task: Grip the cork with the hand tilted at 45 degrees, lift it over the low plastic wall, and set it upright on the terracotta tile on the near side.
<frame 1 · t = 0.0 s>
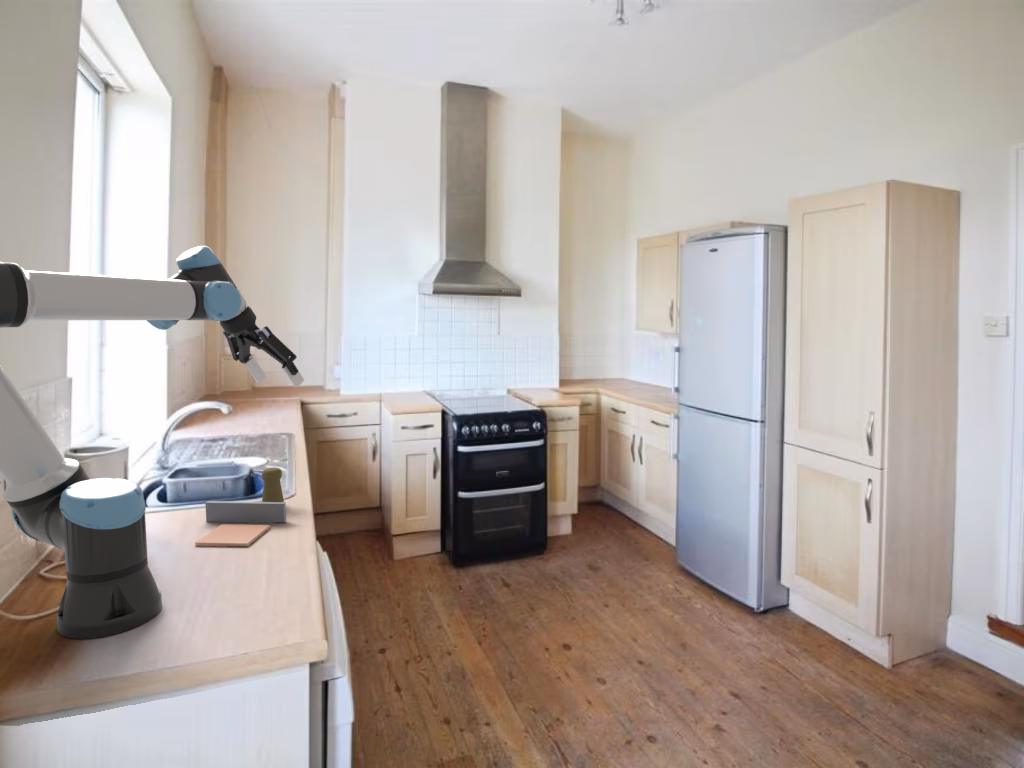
hand: (280, 382, 148), 36 cm above the worktop, tool tilted 35°, fingers open, 13 cm apart
terracotta tile: (234, 536, 141), on the worktop
low wall: (246, 521, 152), on the worktop
cork: (273, 508, 163), on the worktop
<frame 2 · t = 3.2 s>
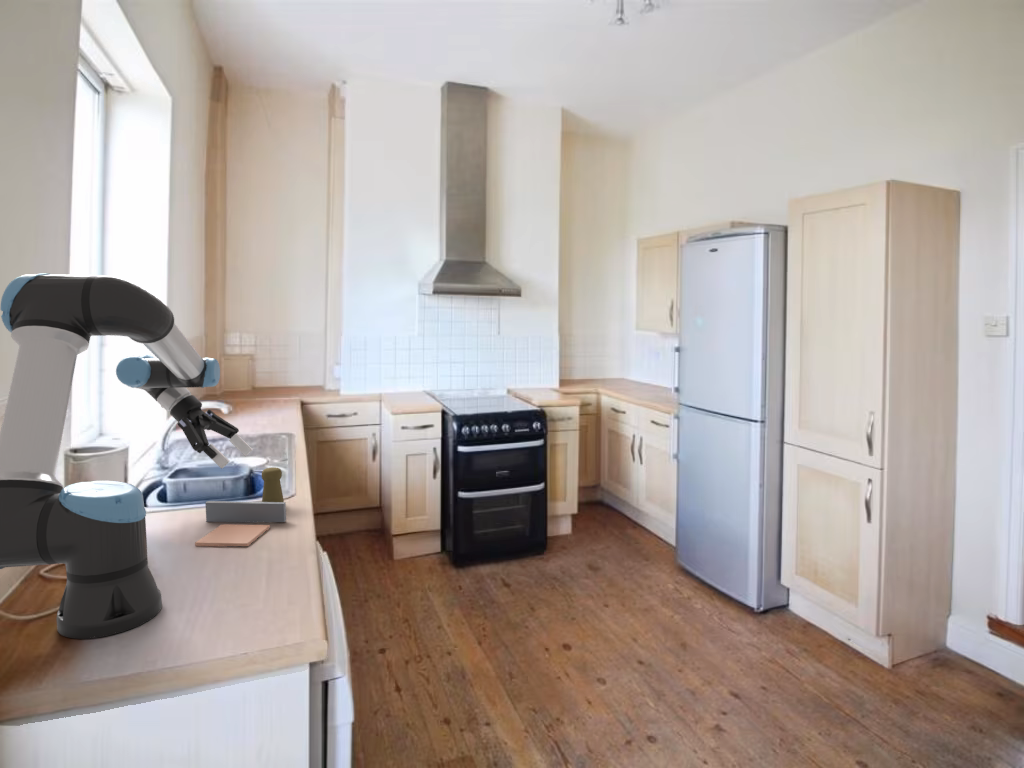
hand: (238, 458, 162), 13 cm above the worktop, tool tilted 45°, fingers open, 13 cm apart
nothing on the worktop moved.
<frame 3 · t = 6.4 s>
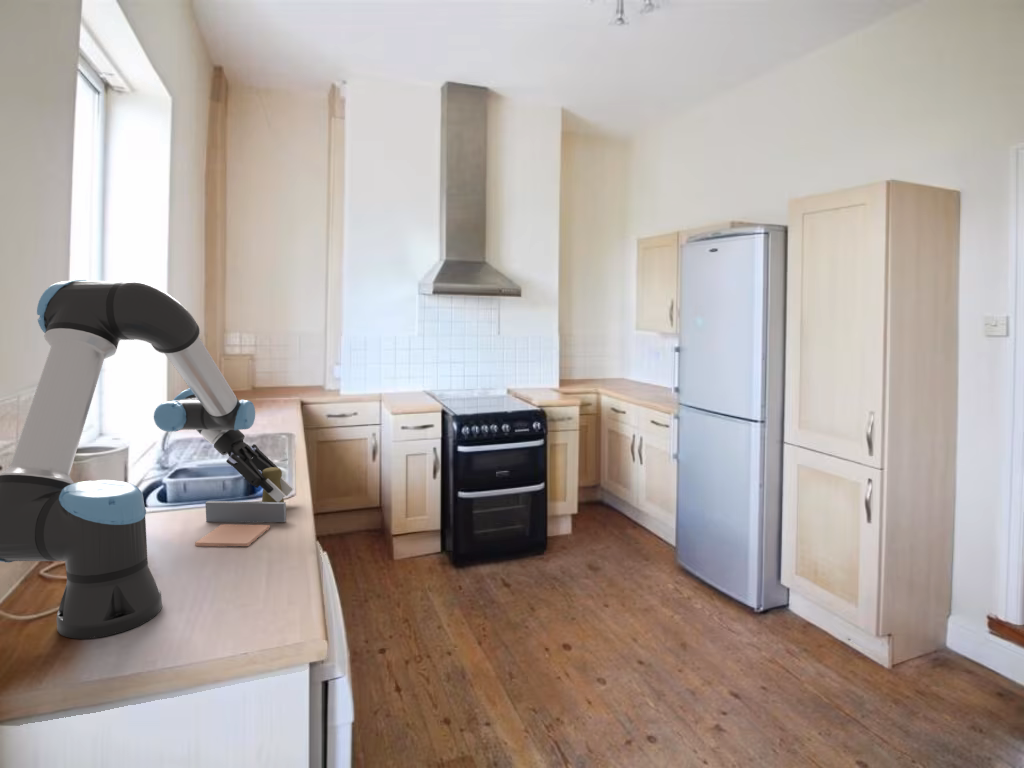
hand: (285, 495, 163), 3 cm above the worktop, tool tilted 45°, fingers closed on cork, 5 cm apart
cork: (273, 507, 163), on the worktop, touching gripper
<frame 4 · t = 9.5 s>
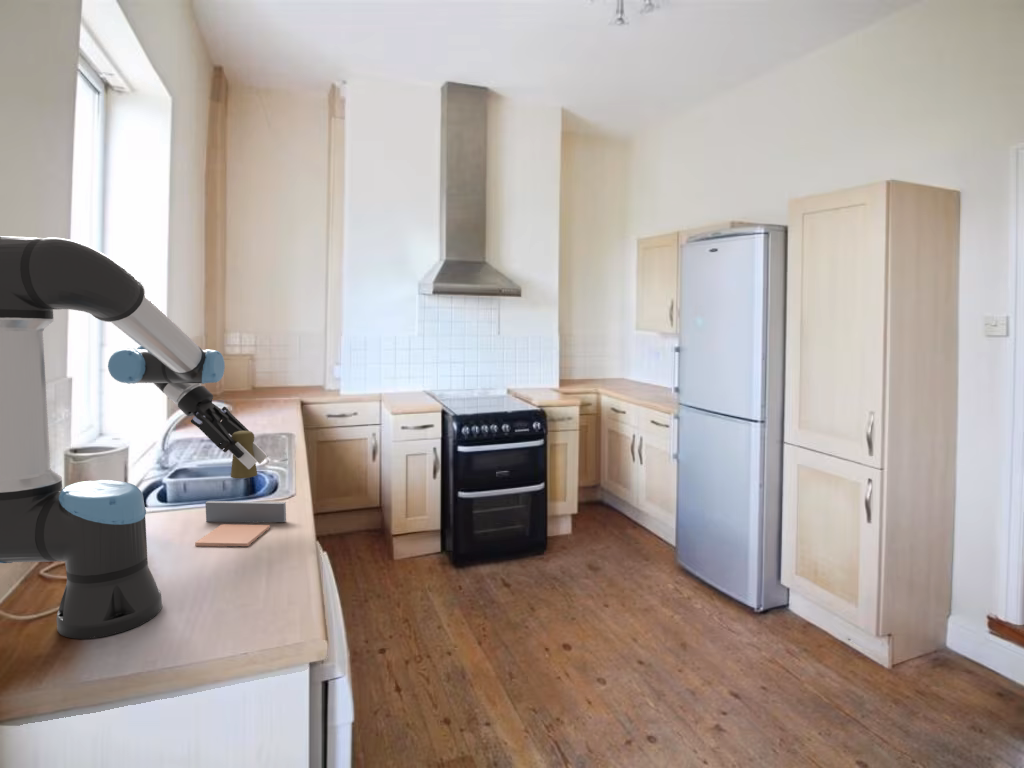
hand: (258, 462, 146), 16 cm above the worktop, tool tilted 45°, fingers closed on cork, 5 cm apart
cork: (244, 476, 146), point 13 cm above the worktop, touching gripper
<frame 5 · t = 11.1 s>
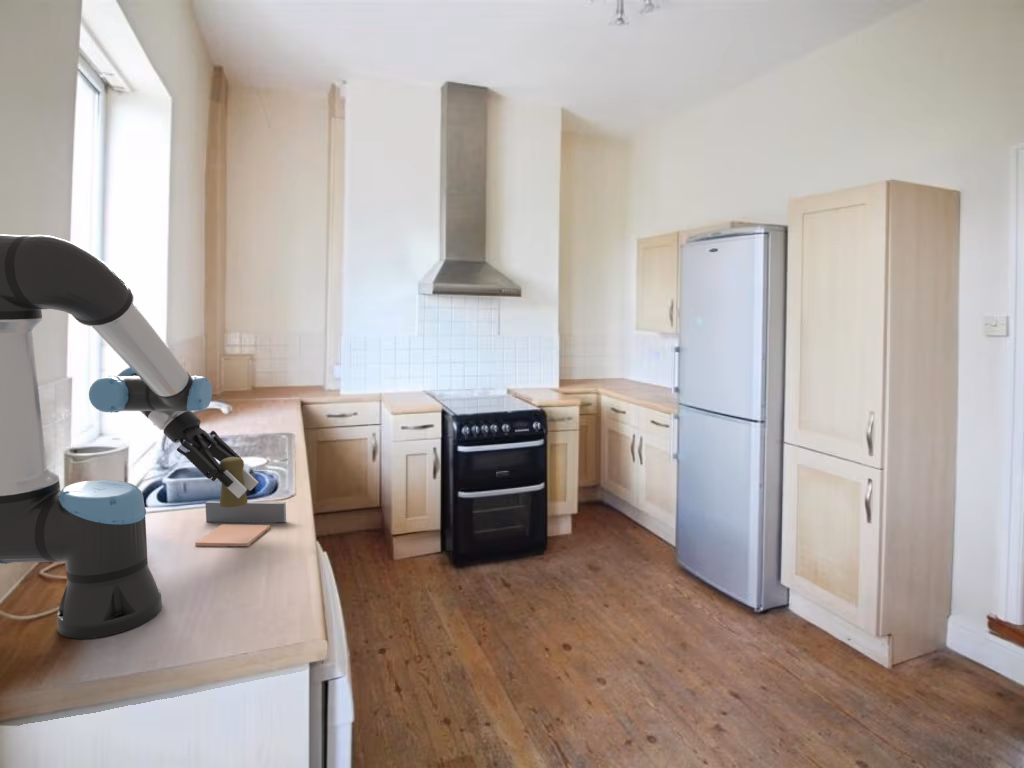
hand: (248, 490, 141), 11 cm above the worktop, tool tilted 45°, fingers closed on cork, 5 cm apart
cork: (233, 504, 141), point 8 cm above the worktop, touching gripper
when the fingers open (5 cm above the worktop, at t = 12.4 s): cork drops 1 cm, resting on terracotta tile.
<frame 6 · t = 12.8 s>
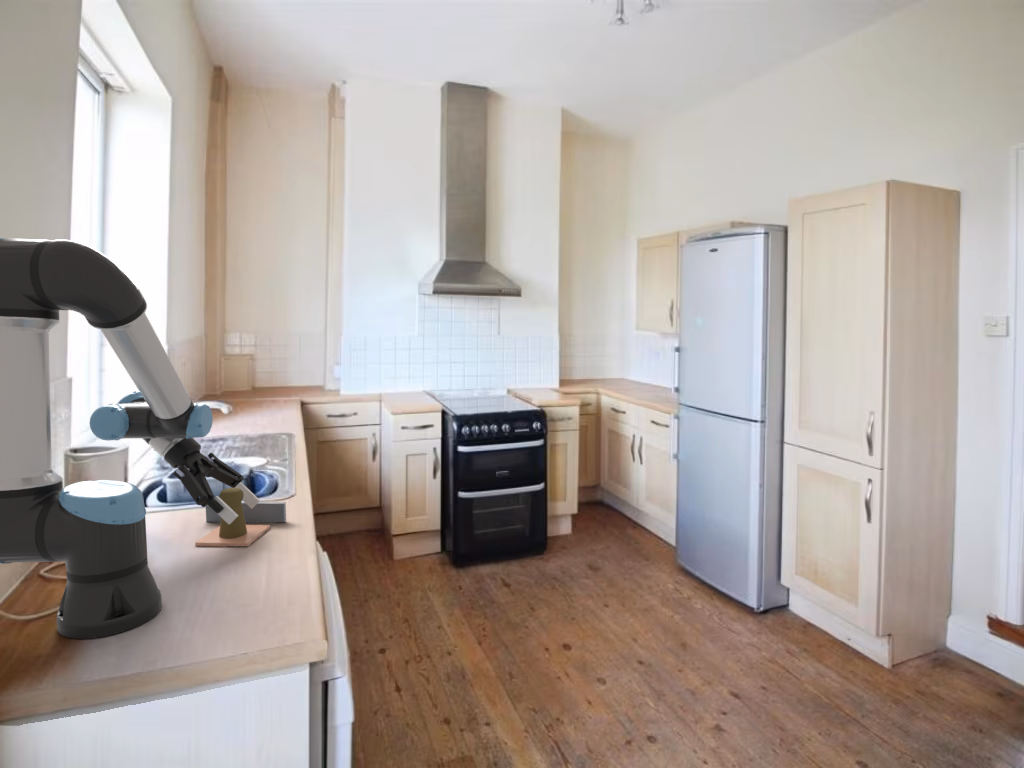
hand: (245, 512, 141), 6 cm above the worktop, tool tilted 45°, fingers open, 10 cm apart
cork: (233, 534, 141), point 1 cm above the worktop, touching terracotta tile
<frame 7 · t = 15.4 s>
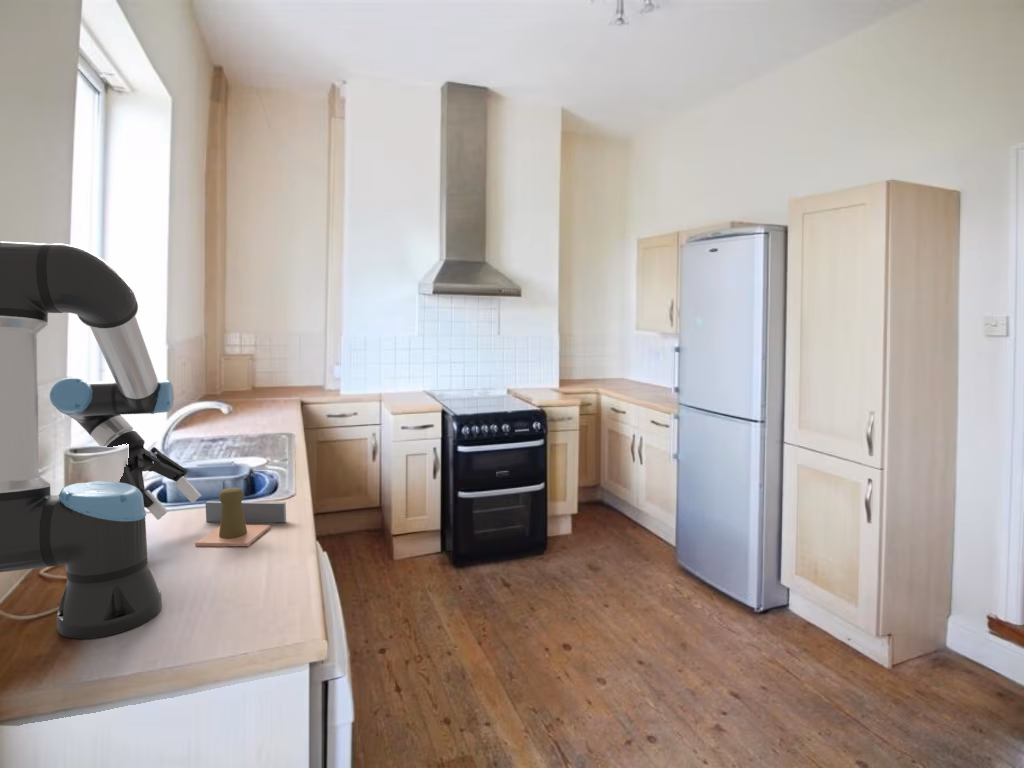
hand: (180, 507, 140), 7 cm above the worktop, tool tilted 40°, fingers open, 13 cm apart
nothing on the worktop moved.
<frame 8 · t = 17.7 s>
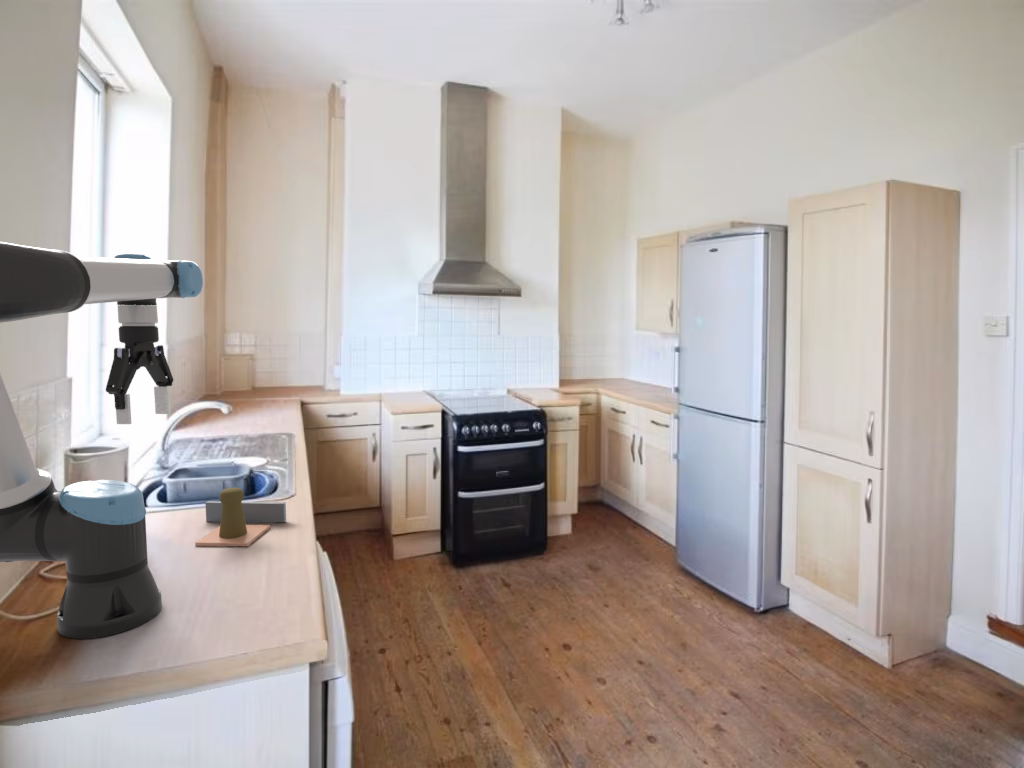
hand: (144, 418, 136), 29 cm above the worktop, tool pointing down, fingers open, 13 cm apart
nothing on the worktop moved.
at the end: cork inside the target area on the terracotta tile (0.3 cm from its centre), point 0.6 cm above the terracotta tile's base; cork tilted 0°; the gripper is holding nothing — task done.
